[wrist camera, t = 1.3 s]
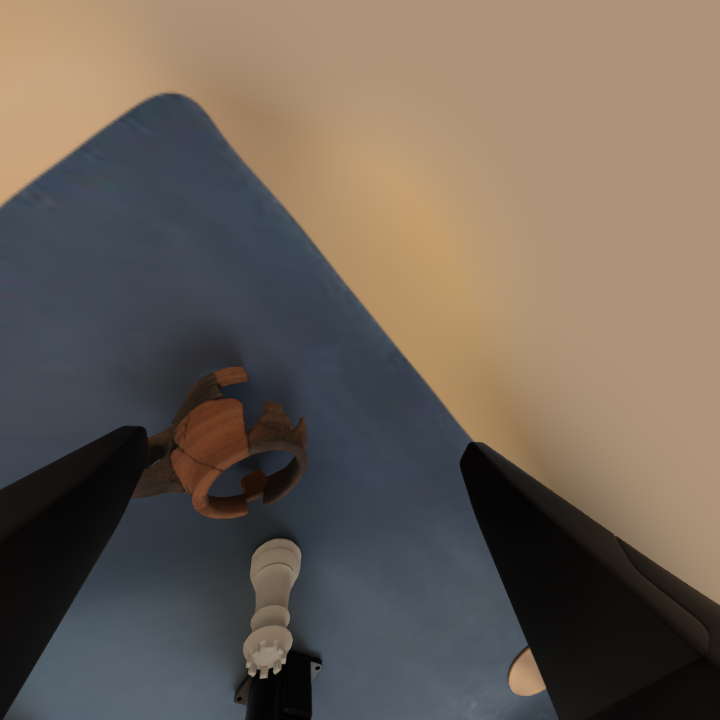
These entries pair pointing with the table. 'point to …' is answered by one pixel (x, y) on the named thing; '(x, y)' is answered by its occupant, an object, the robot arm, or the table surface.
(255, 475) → the brown curved piece
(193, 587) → the table surface
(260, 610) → the rook chess piece
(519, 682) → the cork coaster
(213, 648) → the table surface
